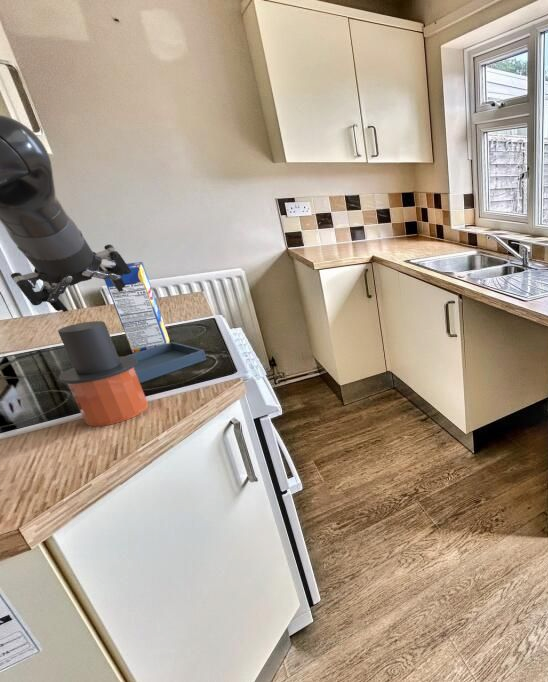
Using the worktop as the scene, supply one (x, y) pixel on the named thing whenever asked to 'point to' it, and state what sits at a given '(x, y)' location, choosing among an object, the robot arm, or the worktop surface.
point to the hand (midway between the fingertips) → (91, 297)
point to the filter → (91, 353)
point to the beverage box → (138, 310)
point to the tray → (165, 360)
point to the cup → (110, 399)
